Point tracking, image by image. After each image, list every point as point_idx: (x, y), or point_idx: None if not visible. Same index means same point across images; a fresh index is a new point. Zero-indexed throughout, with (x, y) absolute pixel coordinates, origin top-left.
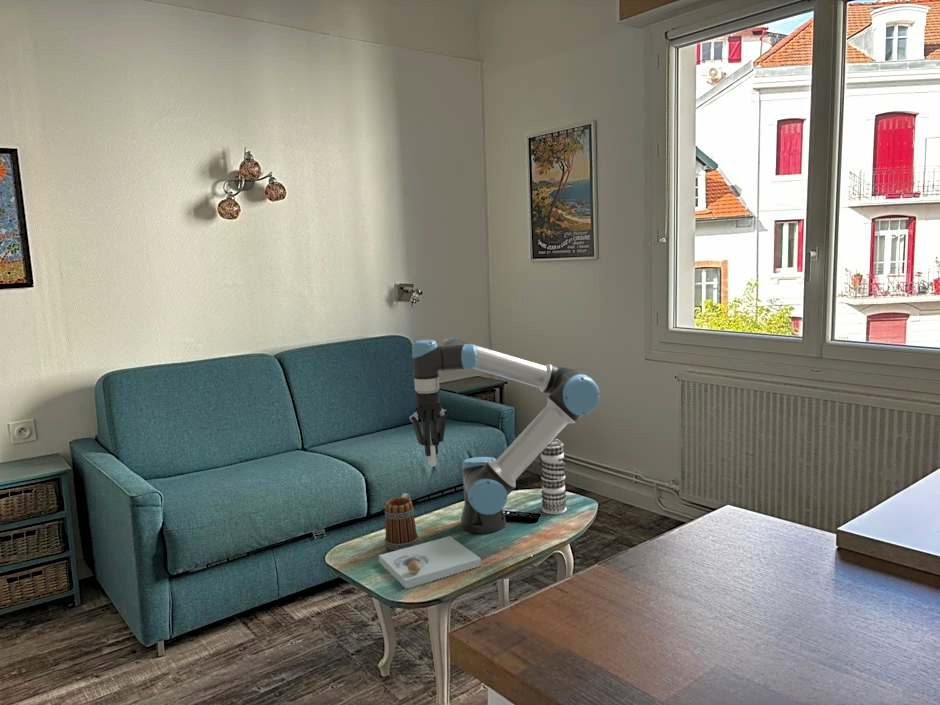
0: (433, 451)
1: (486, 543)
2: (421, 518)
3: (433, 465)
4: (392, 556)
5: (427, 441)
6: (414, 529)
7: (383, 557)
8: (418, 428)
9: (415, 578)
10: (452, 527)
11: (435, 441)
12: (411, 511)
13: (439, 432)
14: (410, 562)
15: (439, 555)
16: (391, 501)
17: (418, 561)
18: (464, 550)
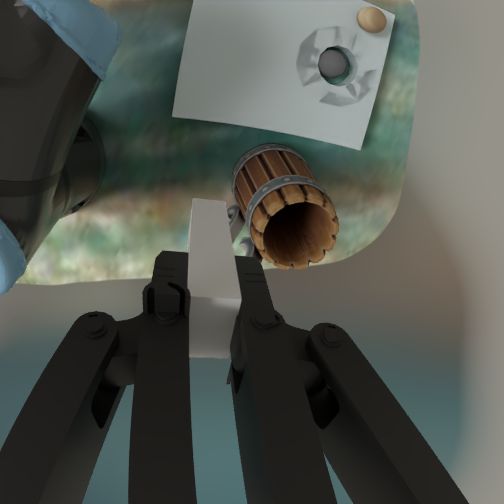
0: (211, 261)
1: None
2: (151, 276)
3: (215, 203)
4: (346, 121)
5: (285, 350)
6: (259, 165)
7: (361, 133)
8: (438, 487)
9: (374, 6)
10: (118, 192)
11: (176, 331)
12: (276, 184)
13: (89, 422)
14: (384, 23)
15: (268, 39)
16: (299, 260)
17: (325, 53)
18: (201, 17)
